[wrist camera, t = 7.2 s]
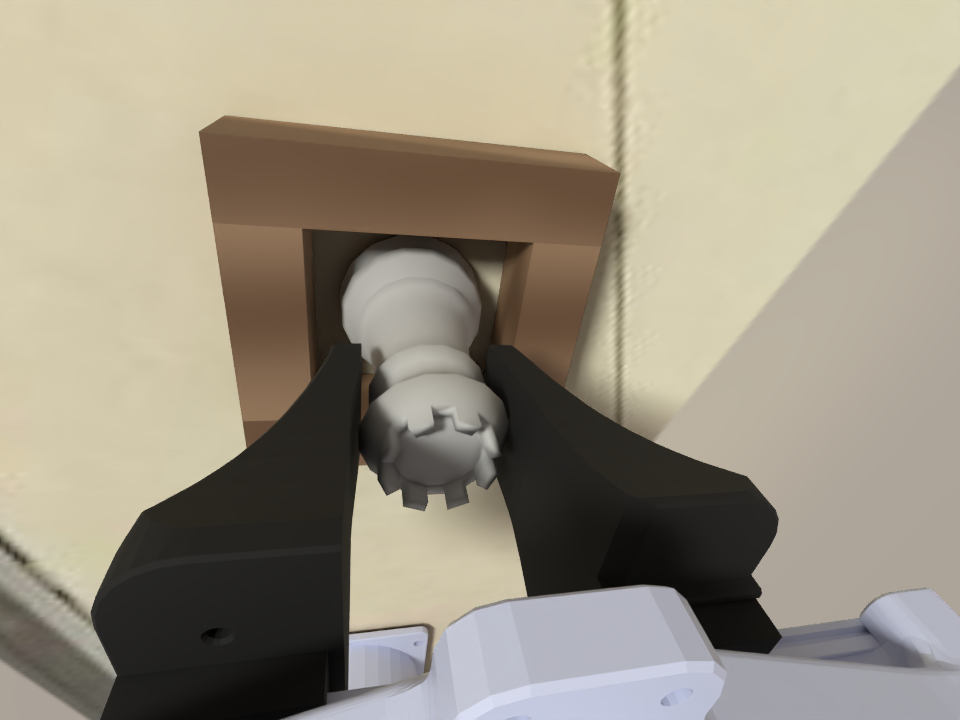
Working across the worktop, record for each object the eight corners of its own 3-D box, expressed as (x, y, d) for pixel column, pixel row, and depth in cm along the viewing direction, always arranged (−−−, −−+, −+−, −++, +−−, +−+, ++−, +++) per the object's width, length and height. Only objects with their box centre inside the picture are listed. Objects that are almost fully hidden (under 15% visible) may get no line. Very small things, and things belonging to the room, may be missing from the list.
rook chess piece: (503, 281, 17) (591, 438, 10) (422, 372, 18) (455, 563, 12) (394, 199, 15) (420, 332, 8) (312, 309, 16) (278, 498, 10)
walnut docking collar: (527, 414, 20) (545, 457, 18) (262, 420, 18) (250, 469, 16) (585, 153, 15) (620, 173, 13) (224, 115, 13) (199, 131, 11)
